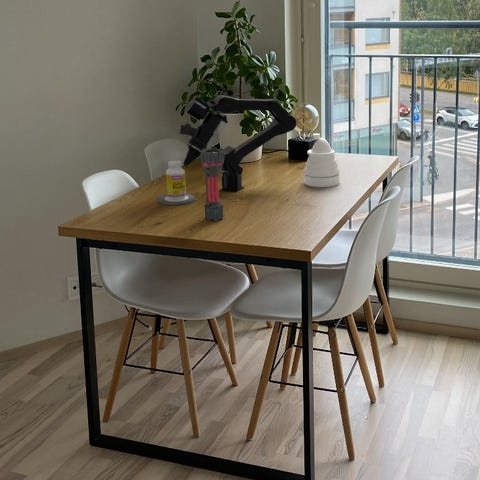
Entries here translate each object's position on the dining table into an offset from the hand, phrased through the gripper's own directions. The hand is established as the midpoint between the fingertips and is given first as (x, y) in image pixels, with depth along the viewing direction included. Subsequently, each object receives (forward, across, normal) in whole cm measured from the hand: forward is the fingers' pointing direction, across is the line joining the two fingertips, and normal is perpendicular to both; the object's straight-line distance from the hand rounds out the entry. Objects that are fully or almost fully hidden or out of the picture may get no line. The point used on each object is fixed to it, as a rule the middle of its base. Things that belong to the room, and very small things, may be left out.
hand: (184, 165), depth 313 cm
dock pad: (+12, +5, +4) cm, 14 cm away
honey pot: (-21, -9, +46) cm, 52 cm away
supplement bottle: (+11, +5, +4) cm, 13 cm away
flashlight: (+9, +31, +17) cm, 36 cm away
